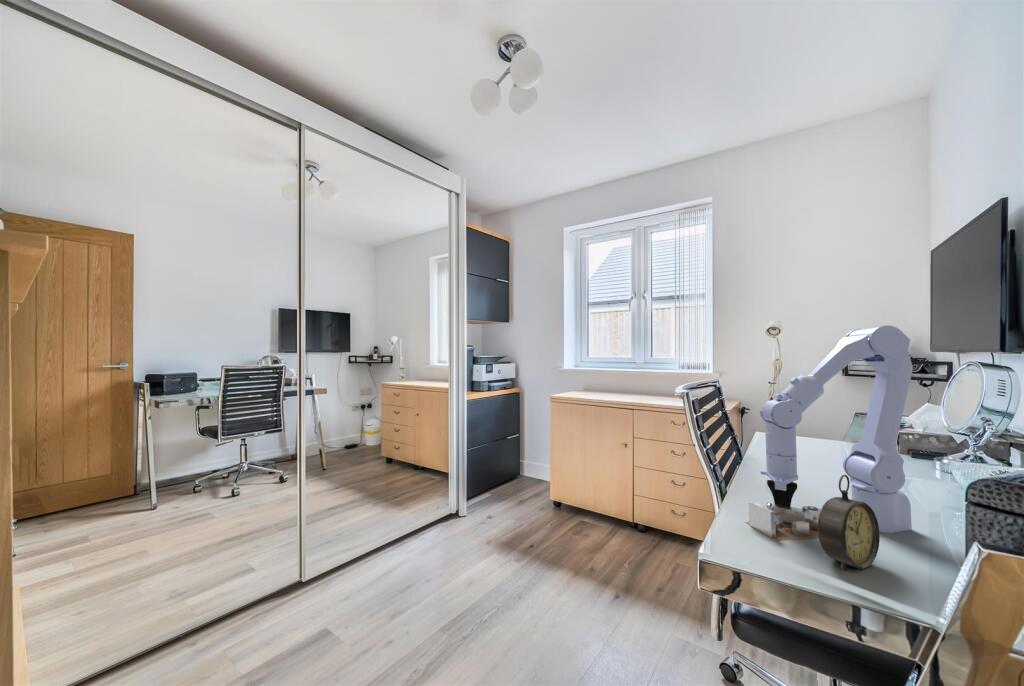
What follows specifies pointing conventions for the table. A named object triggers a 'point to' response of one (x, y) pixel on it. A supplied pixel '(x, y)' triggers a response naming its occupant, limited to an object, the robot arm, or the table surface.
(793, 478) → the robot arm
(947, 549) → the table surface
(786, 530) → the board
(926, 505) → the table surface
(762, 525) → the square plate with knob
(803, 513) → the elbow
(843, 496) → the alarm clock
